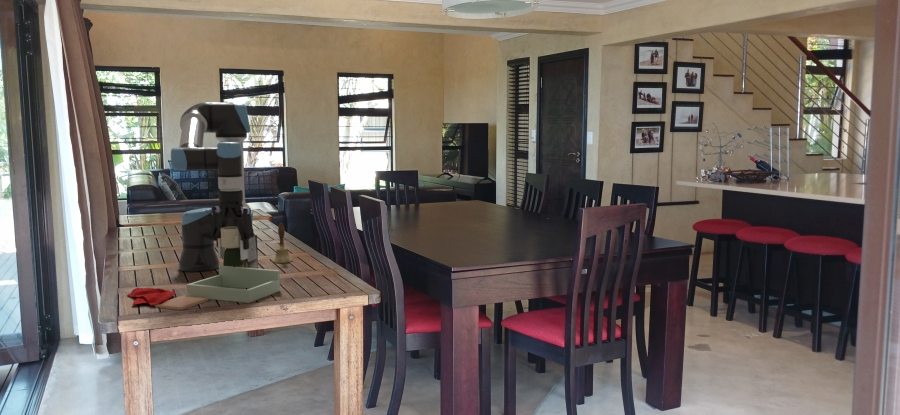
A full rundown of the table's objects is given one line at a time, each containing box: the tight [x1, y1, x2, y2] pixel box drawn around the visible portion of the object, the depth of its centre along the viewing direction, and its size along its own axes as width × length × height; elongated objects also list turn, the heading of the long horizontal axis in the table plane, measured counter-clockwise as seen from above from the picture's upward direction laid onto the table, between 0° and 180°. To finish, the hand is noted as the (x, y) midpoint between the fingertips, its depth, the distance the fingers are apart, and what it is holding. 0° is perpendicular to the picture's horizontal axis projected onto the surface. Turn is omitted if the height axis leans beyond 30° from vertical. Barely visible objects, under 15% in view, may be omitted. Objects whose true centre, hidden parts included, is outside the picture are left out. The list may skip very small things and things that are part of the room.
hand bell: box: [271, 222, 294, 264], centre depth 278 cm, size 8×8×16 cm
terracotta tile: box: [154, 295, 209, 311], centre depth 210 cm, size 10×12×1 cm
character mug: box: [221, 226, 243, 267], centre depth 221 cm, size 11×7×13 cm, turn 32°
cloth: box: [126, 287, 176, 306], centre depth 216 cm, size 26×14×2 cm, turn 29°
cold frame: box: [186, 265, 281, 304], centre depth 222 cm, size 24×17×7 cm
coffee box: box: [230, 234, 259, 269], centre depth 244 cm, size 9×6×16 cm
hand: (233, 258), depth 222 cm, fingers closed on character mug, 8 cm apart
